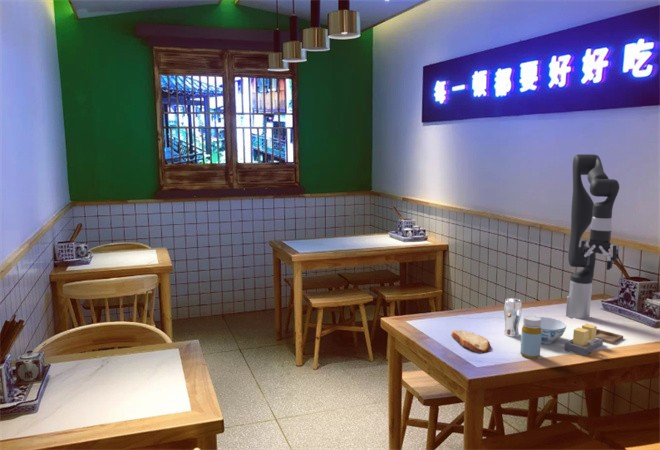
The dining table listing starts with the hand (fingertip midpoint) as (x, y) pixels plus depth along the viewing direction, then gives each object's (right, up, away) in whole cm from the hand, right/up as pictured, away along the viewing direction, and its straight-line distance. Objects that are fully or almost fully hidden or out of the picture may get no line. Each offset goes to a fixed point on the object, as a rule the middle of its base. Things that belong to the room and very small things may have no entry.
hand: (597, 267), depth 219 cm
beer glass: (-32, -29, +9) cm, 44 cm away
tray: (+4, -30, +3) cm, 30 cm away
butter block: (-11, -31, -9) cm, 35 cm away
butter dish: (-9, -32, -6) cm, 33 cm away
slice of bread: (-53, -31, -1) cm, 61 cm away
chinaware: (-21, -30, +2) cm, 37 cm away
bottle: (-33, -33, -14) cm, 48 cm away
